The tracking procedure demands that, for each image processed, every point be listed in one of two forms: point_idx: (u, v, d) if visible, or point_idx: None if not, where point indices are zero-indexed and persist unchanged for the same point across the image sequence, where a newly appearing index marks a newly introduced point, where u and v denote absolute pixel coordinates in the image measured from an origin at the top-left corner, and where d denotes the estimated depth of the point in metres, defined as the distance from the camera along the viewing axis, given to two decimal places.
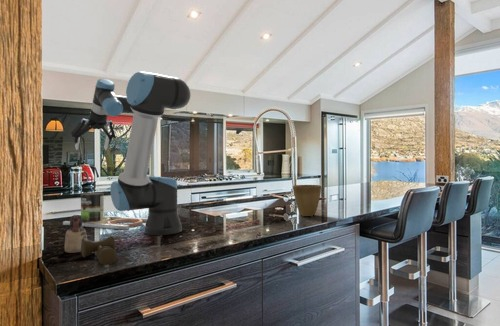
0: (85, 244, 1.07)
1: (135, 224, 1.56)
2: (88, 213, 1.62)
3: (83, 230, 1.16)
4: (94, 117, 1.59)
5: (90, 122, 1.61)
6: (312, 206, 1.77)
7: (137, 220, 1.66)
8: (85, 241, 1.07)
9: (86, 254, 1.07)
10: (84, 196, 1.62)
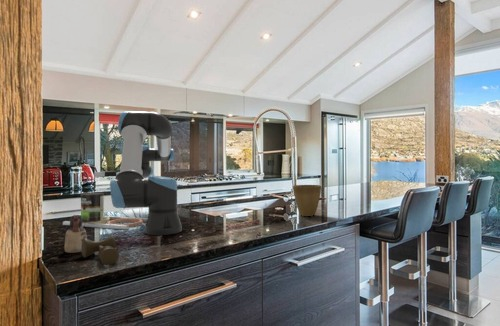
0: (86, 244, 1.07)
1: (135, 224, 1.56)
2: (88, 213, 1.62)
3: (83, 230, 1.16)
4: None
5: None
6: (312, 206, 1.77)
7: (137, 220, 1.66)
8: (86, 241, 1.07)
9: (87, 254, 1.07)
10: (84, 196, 1.62)
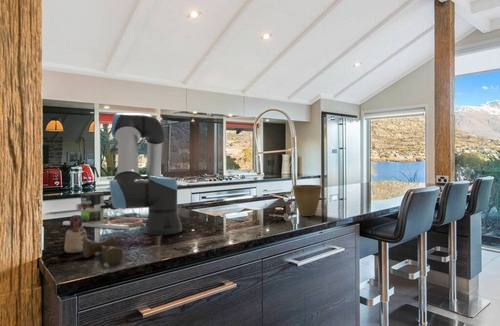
0: (88, 244, 1.06)
1: (135, 224, 1.56)
2: (88, 213, 1.62)
3: (83, 230, 1.16)
4: None
5: None
6: (312, 206, 1.77)
7: (137, 220, 1.66)
8: (88, 241, 1.07)
9: (89, 254, 1.07)
10: (84, 196, 1.62)
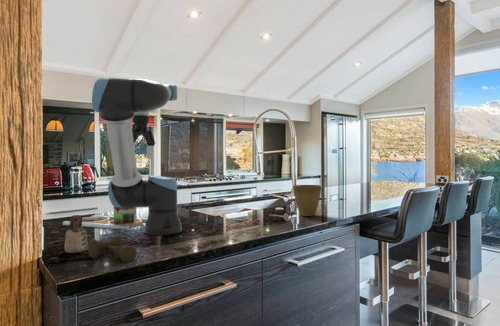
0: (97, 245, 1.06)
1: (135, 224, 1.56)
2: (121, 215, 1.56)
3: (83, 230, 1.16)
4: (141, 118, 1.66)
5: (138, 126, 1.65)
6: (312, 206, 1.77)
7: (137, 220, 1.66)
8: (96, 242, 1.07)
9: (98, 255, 1.06)
10: None
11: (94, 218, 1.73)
